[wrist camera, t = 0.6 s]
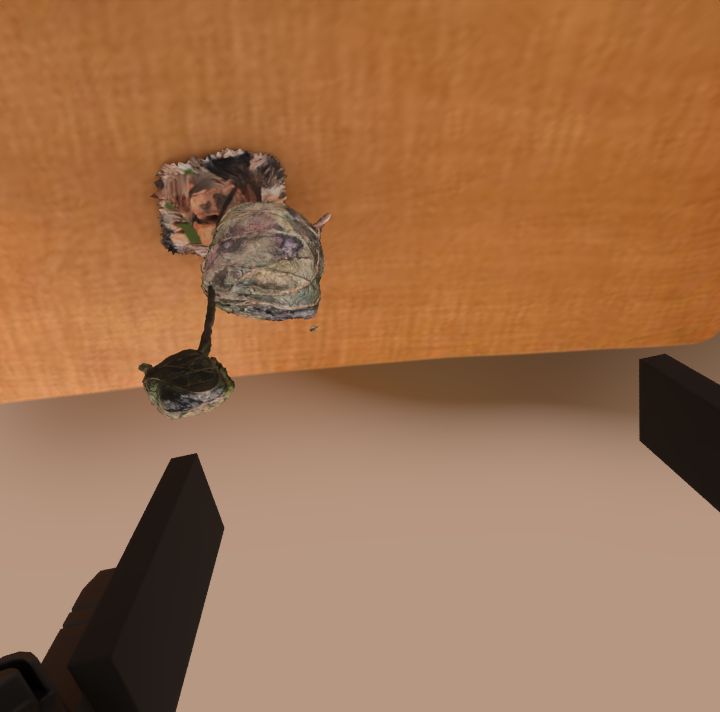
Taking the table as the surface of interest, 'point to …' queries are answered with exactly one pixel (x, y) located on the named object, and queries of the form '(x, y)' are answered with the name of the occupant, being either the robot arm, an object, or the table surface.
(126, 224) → the table surface
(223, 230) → the stacked rock sculpture
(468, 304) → the table surface
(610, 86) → the table surface
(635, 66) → the table surface
